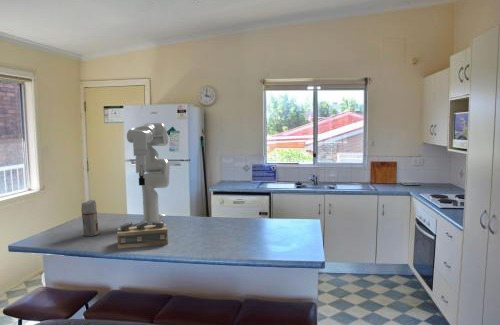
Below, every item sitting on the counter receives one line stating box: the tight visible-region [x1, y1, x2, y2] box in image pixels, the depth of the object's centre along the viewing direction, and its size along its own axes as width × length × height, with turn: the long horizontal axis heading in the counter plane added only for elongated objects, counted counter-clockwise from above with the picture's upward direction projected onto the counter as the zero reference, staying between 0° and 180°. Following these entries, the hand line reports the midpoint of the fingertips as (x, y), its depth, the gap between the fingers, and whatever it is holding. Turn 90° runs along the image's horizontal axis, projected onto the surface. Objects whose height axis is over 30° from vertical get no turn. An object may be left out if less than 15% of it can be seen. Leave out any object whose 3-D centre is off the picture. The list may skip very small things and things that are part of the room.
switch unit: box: [116, 222, 169, 250], centre depth 211 cm, size 12×25×11 cm, turn 106°
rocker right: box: [151, 220, 165, 226], centre depth 213 cm, size 4×6×2 cm
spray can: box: [80, 199, 99, 237], centre depth 228 cm, size 8×8×20 cm
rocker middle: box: [135, 221, 149, 229], centre depth 211 cm, size 4×6×2 cm
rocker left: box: [119, 221, 134, 230], centre depth 209 cm, size 4×6×2 cm
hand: (141, 185), depth 224 cm, fingers closed
